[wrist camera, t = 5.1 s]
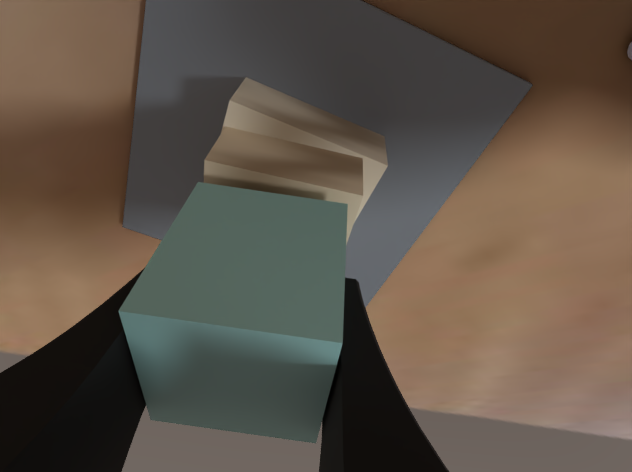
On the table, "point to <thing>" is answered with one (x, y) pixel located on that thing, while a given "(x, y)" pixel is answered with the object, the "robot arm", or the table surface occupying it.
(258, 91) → the tower base
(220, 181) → the tower mid
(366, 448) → the robot arm
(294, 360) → the teal block
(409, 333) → the table surface
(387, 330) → the table surface
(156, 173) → the felt mat
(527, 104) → the table surface
